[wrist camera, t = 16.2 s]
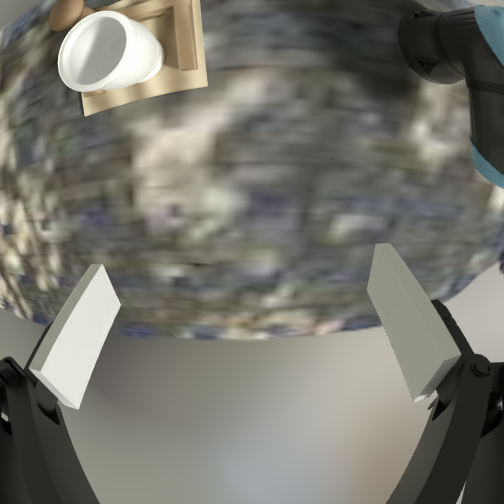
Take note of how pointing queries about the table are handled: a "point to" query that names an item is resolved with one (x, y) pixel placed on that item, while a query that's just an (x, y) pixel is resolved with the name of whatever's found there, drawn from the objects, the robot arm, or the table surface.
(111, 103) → the tan wooden platform
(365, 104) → the table surface
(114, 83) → the jar
